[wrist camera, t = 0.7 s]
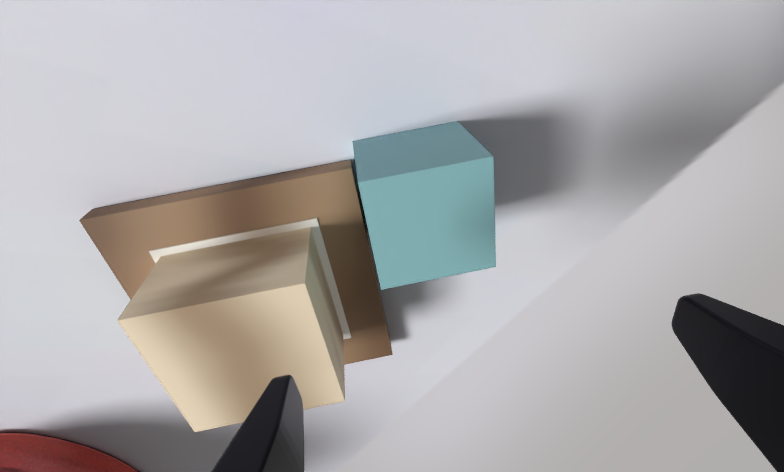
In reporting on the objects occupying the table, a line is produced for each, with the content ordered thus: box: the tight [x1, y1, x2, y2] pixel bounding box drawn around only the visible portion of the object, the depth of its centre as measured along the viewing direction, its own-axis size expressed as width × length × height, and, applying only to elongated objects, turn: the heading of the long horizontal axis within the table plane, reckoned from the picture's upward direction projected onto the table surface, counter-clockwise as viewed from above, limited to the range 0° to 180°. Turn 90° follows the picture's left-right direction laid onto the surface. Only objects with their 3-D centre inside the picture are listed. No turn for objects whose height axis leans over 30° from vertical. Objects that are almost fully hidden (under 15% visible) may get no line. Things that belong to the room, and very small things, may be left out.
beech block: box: [117, 227, 345, 432], centre depth 17 cm, size 6×6×4 cm
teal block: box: [353, 121, 496, 290], centre depth 16 cm, size 4×4×4 cm
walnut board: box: [79, 160, 392, 364], centre depth 19 cm, size 11×11×1 cm
